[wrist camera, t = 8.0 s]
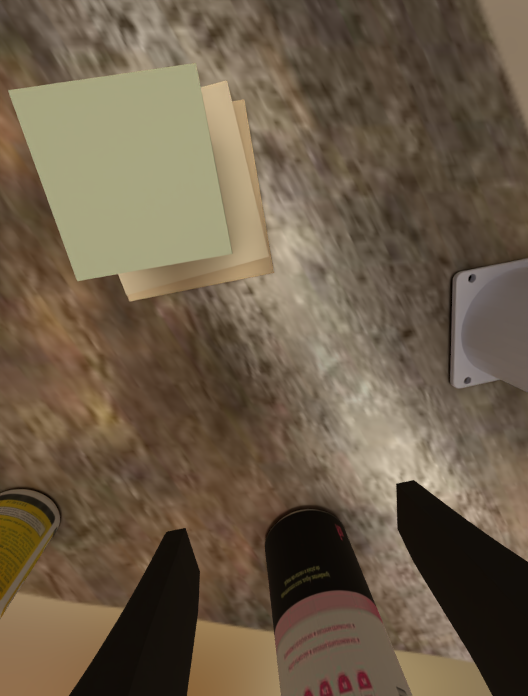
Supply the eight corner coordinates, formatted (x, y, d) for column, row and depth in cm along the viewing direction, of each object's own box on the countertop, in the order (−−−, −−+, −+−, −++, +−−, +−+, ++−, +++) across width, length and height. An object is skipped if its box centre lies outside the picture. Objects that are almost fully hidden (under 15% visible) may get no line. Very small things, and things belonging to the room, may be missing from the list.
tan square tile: (227, 104, 14) (226, 80, 12) (264, 256, 16) (269, 256, 14) (82, 143, 14) (57, 124, 12) (139, 290, 16) (126, 295, 14)
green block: (211, 143, 12) (195, 62, 7) (232, 253, 14) (232, 253, 9) (104, 160, 12) (7, 90, 7) (136, 270, 14) (77, 281, 8)
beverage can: (351, 550, 25) (508, 943, 11) (278, 576, 25) (338, 1000, 11) (332, 493, 23) (496, 886, 9) (253, 521, 23) (286, 958, 9)
